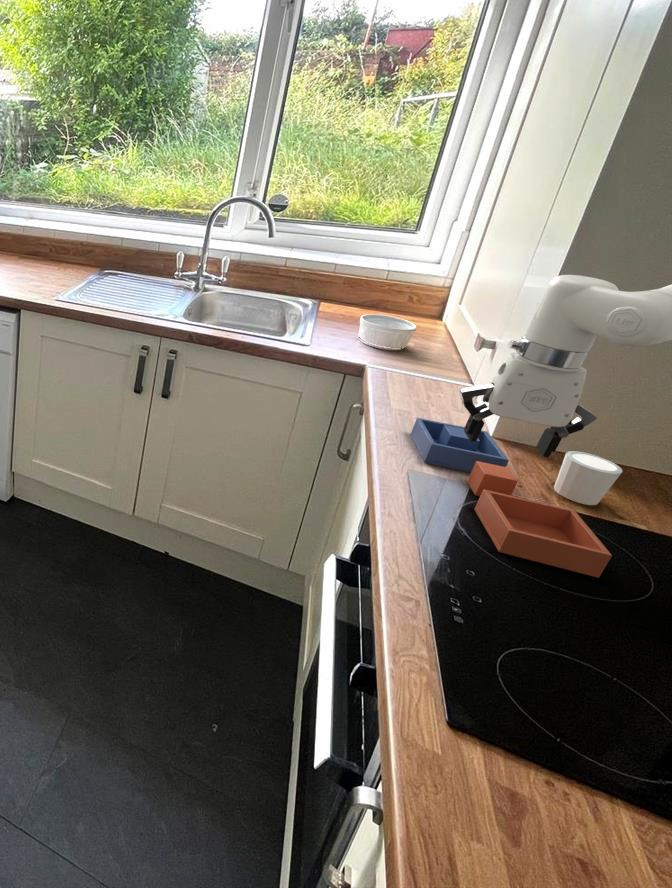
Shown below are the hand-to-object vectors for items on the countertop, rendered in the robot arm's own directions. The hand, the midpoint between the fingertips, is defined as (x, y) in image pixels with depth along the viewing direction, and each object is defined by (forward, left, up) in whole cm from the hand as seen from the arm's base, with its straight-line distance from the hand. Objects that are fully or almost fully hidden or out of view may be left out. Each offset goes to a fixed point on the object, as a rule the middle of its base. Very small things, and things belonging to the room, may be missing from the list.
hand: (505, 445), depth 99 cm
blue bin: (+12, +2, -9) cm, 15 cm away
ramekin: (+78, +3, -10) cm, 78 cm away
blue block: (+12, +2, -9) cm, 15 cm away
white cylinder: (+6, -15, -10) cm, 19 cm away
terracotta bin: (-13, -2, -9) cm, 16 cm away
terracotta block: (0, 0, -9) cm, 9 cm away
